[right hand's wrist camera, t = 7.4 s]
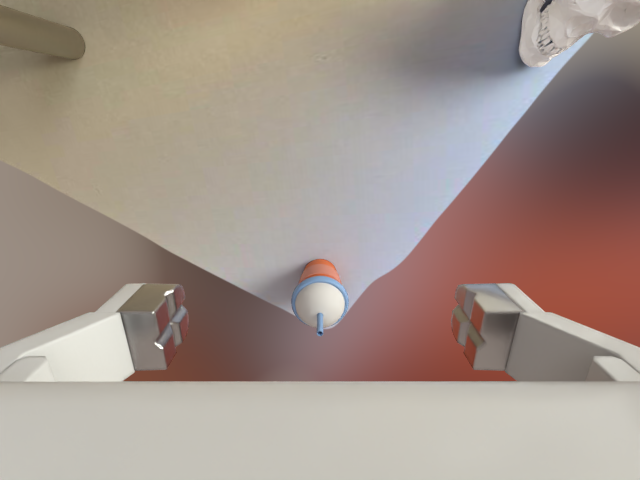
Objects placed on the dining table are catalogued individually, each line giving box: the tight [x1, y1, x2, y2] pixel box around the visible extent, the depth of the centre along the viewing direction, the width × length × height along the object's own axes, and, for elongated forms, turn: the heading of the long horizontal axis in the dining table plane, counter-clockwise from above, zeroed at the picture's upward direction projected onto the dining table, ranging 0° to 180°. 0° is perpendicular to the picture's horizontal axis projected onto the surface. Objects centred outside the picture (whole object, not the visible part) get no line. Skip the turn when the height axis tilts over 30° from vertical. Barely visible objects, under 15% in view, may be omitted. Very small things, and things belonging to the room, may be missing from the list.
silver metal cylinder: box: [0, 5, 85, 59], centre depth 41 cm, size 4×4×19 cm
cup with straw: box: [291, 259, 349, 336], centre depth 55 cm, size 9×9×18 cm
